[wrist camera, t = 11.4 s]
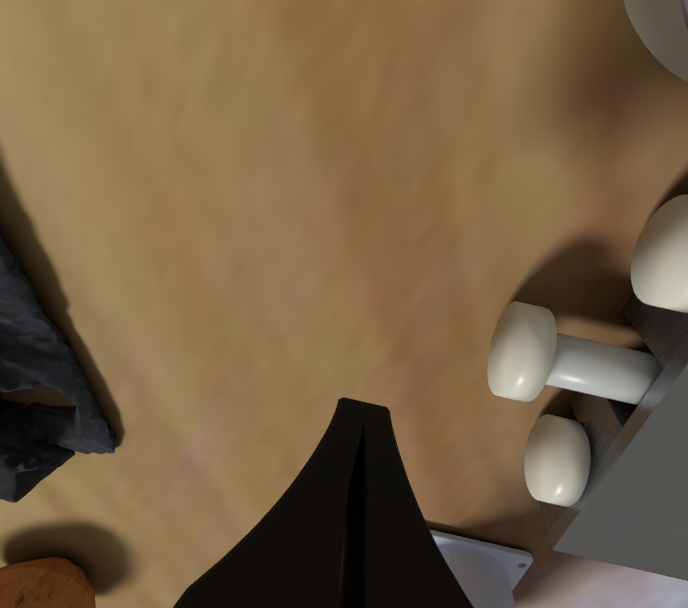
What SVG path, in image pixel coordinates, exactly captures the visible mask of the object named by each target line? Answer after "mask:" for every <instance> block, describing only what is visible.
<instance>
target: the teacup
mask: <svg viewBox="0 0 688 608" xmlns="http://www.w3.org/2000/svg"><path fill="white" fill-rule="evenodd" d="M624 4H625V8H626V12H627V14H628V16H629V18H630V21H631V23H632V25H633V27H634V29H635V31H636V32H637V34H638V35H639V37H640V38H641V40H642V42H643V43H644V45H645V46H646V47H647V48H648V50H649V51H650V52H651V53H652V55H653V56H654V57H655V58H656V59H657V60H658V61H659V62H660V63H661V64H662V65H663V66H665V67H666V68H667V69H668V70H669V71H670V72H671V73H673V74H674V75H676V76H677V77H679V78H680V79H682V80H683V81H685V82H686V83H688V0H624Z"/></svg>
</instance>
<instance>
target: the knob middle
mask: <svg viewBox="0 0 688 608" xmlns="http://www.w3.org/2000/svg"><path fill="white" fill-rule="evenodd" d="M663 369H664V368H663V367H662V365H661V364H660V363H659V361H658V360H657V358H656V357H655V356H654V354H650V353H646V352H641V351H637V350H632V349H628V348H623V347H619V346H614V345H610V344H606V343H601V342H597V341H592V340H588V339H583V338H579V337H574V336H570V335H566V334H561V333H557V330H556V323H555V319H554V316H553V314H552V312H551V311H550V310H549V309H547V308H544V307H540V306H535V305H531V304H526V303H522V302H518V301H514V302H511V303H510V304H509V305H508V306H507V307H506V308H505V310H504V311H503V313H502V314H501V316H500V318H499V320H498V322H497V325H496V328H495V330H494V333H493V337H492V341H491V345H490V350H489V356H488V370H487V371H488V383H489V387H490V389H491V391H492V393H493V394H494V395H496V396H501V397H505V398H510V399H514V400H519V401H523V402H530V401H532V400H533V399H535V398H536V397H537V396H538V395H539V394H540V392H541V391H542V389H543V388H544V386H545V384H547V385H551V386H556V387H560V388H565V389H569V390H574V391H578V392H582V393H587V394H591V395H596V396H600V397H605V398H609V399H613V400H618V401H622V402H627V403H631V404H636V405H639V403H640V402H641V401H642V399H643V398H644V396H645V395H646V393H647V392H648V391H649V389H650V388H651V386H652V385H653V383H654V382H655V381H656V379H657V378H658V376H659V375H660V373H661V372H662V371H663Z"/></svg>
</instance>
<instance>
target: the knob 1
mask: <svg viewBox="0 0 688 608" xmlns="http://www.w3.org/2000/svg"><path fill="white" fill-rule="evenodd" d="M595 466H596V464H595V462H594V460H593V457H592V455H591V452H590V446H589V441H588V437H587V434H586V432H585V430H584V428H583V427H582V425H581V424H580V423H579V422H577V421H575V420H571V419H567V418H562V417H558V416H554V415H549V414H546V415H543V416H541V417H540V418H539V419H538V420H537V421H536V423H535V424H534V426H533V428H532V430H531V432H530V435H529V438H528V441H527V446H526V451H525V463H524V467H525V478H526V483H527V487H528V489H529V492H530V493H531V495H532V496H533V497H534V498H535V499H536V500H539V501H543V502H547V503H552V504H556V505H561V506H565V507H567V506H571V505H573V504H574V503H576V502H577V501H578V499H579V498H580V497H581V495H582V493H583V491H584V489H585V487H586V484H587V480H588V476H589V475H590V474H591V472H592V471H593V469H594V468H595Z"/></svg>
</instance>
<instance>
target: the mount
mask: <svg viewBox="0 0 688 608" xmlns="http://www.w3.org/2000/svg"><path fill="white" fill-rule="evenodd" d="M623 313H624V314H625V316H626V317H627V318H628V320H629V321H630V322H631V324H632V325H633V327H634V328H635V329H636V331H637V332H638V334H639V335H640V336H641V338H642V339H643V340H644V342H645V343H646V345H647V346H648V347H649V349H650V350H651V352H652V353H653V354H654V356H655V357H656V358H657V360H658V361H659V363H660V364H661V365H662V367H663V368H664V369H663V371H662V372H661V373H660V375H659V376H658V378H657V379H656V381H655V382H654V383H653V385H652V386H651V388H650V389H649V391H648V392H647V393H646V395H645V396H644V398H643V399H642V401H641V402H640V403H639V405H636V404H631V403H627V402H622V401H618V400H613V399H609V398H605V397H600V396H596V395H591V394H587V393H582V392H578V391H575V392H574V394H573V396H572V397H571V399H570V401H569V402H570V404H571V406H572V409H573V411H574V414H575V416H576V418H577V421H578V422H579V423H580V424H581V425H582V427H583V428H584V430H585V432H586V434H587V437H588V441H589V446H590V452H591V455H592V457H593V460H594V462H595V464H596V466H595V468H594V469H593V471H592V472H591V474H590V475H589V476H588V480H587V484H586V487H585V489H584V491H583V493H582V495H581V497H580V498H579V499H578V501H577V502H576V503H574V504H573V505H571V506H567V507H565V506H561V505H556V504H552V503H547V502H543V501H539V502H540V506H541V510H542V514H543V517H544V521H545V525H546V529H547V532H548V536H549V540H550V544H551V547H552V550H555V551H559V552H564V553H568V554H572V555H577V556H581V557H586V558H590V559H594V560H599V561H603V562H608V563H612V564H616V565H621V566H625V567H630V568H634V569H638V570H643V571H647V572H652V573H656V574H660V575H665V576H669V577H674V578H678V579H682V580H687V581H688V313H684V312H679V311H674V310H670V309H665V308H661V307H656V306H652V305H648V304H645V303H643V302H642V301H641V300H640V299H639V298H638V297H637V296H636V294H635V292H633V294H632V296H631V298H630V299H629V301H628V303H627V304H626V306H625V308H624V309H623Z"/></svg>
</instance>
